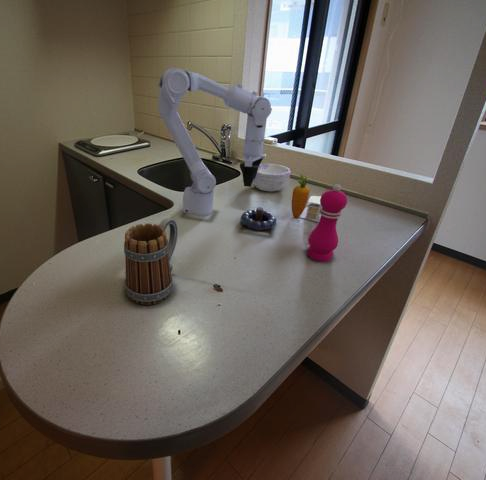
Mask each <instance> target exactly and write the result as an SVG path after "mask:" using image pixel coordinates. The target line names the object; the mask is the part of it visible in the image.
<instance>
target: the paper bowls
mask: <svg viewBox="0 0 486 480" xmlns="http://www.w3.org/2000/svg"><path fill="white" fill-rule="evenodd" d="M290 177H291V168H289V167H287V166H284V165H281V164H274V163H260V165H259V168H258V171H257V174H256V177H255V179H253V182H252V184H254V186H255V188H256V189H258V190H260V191H264V192H278V191H280V190H282V188H283V187H284V186H286V185H288V184H289V183H290Z"/></svg>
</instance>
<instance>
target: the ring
mask: <svg viewBox="0 0 486 480" xmlns="http://www.w3.org/2000/svg"><path fill="white" fill-rule="evenodd" d="M255 217H256V209H250V210H246V211H245V212H243V213H242V214H241V216H240V222H241V224H243V225H244V226H246V227H248V228H250V229H255V230H268V229H270V228H272V229H273V228H275V226H276V224H277V218H276V217H275V215H274V214H273V213H272V212H270V211H269V212H268V211H266V210H263V215H262V219H265V220H267V221H264V222H258V221H253V220H251V219H250V218H255Z"/></svg>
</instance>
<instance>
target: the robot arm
mask: <svg viewBox="0 0 486 480" xmlns="http://www.w3.org/2000/svg"><path fill="white" fill-rule="evenodd" d="M196 91H202V92H204V93H207V94H210V95H212V96H215V97H218V98H220V99H222V100H223V102H224V105H225V106H226V107H228V108H231V109H233V110H236V111H238V112H241V113H243V114H246V115H247V117H246V126H245V134H244V135H245V136H244V145H243V153H242V157H243V159H244V162H240V163H239V168H240V171H241V175H242V180H243V181H242V182H243V187H247V188H251V186H252V185H253V179H255V177H256V174H257V171H258V168H259V165H260V164H262V161H263V160H264V159H266V158H267V154H266V153H263V151H264V143H265V135H266V127H267V121H268V120H267V119H268V117H270V115H271V113H272V111H273V107H272V106H271V102H270V100H269V99H268V98H267V97H263V96H261V95H258V92H256V91H254V90H253V91H249V90H247V89H245V88H244V85H242V84H239V83H237V85H236V84H232V85H230V86H226V85H223V84H221V83H219V82H217V81H215V80H212V79H210V78H208V77H206V76H204V75H202V74H200V73H197V72H193V71H189V70H184V69H181V68H177V67H173V66H171V67H168V68H166V69H165V70H163V72H162V73H161V76H160V79H159V81H158V95H157V112H158V114H159V115H160V117H161V119H162V120H163V122H164V125H165V127H166V128H167V131H168V132H169V135H170V136H171V138H172V139H173V141H174V144H175V145H176V147H177V149H178V151H179V153H180V154H181V156H182V158H183V161H184V162H185V163H186V166H187V168H188V169H189V176H190V180H191V181H192V184H191V186H187V187H185V188H184V190H183V194H182V213H183V214H189V215H194V216H197V217H207V216H210V215H212V214H213V209H214V193H215V192H214V189H215V187H216V185H217V180H216V177H215V175H213V174H212V173H211V171H210V169H209V168H208V166H206V165H205V164H204V163H205V162H203V160H202V157H201V156H200V154H199V152H198V149H197V148H196V145H195V144H194V142H193V140H192V138H191V136H190V134H189V132H188V130H187V129H186V126H185V123H184V122H183V120H182V118H181V116H180V114H179V113H178V109H179V106H180V103H181V100H182V99H183V97H184V96H185V95H186V93H187V92H196Z"/></svg>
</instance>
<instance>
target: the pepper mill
mask: <svg viewBox="0 0 486 480" xmlns="http://www.w3.org/2000/svg"><path fill="white" fill-rule="evenodd" d="M341 189H342V186H341V185H340V184H337V183H336V184H334V185H333V186H332V189H327V190H326V191H324V192H323V193H322V194H321V195H320V197H321V199H320V203H321V205H322V207H321V208H320V212H319V213H320V214H321V218H320V221H319V222H317V225H316V226H315V227H314V228H313V229H312V231H311V232H310V234H309V236H308V239H307V242H308V244H309V245H308V248H307V252H306V253H307V256H308V257H309V258H310V259H312V260H314V261H316V262H323V263H325V262H329V261H331V260H332V258H333V256H334V250H336V249H337V248H338V244H339V237H338V236H339V235H338V232H337V224H338V223H337V222H338V220H339V218H341V217H342V213H343V211H342V210H344V209H345V208H346V206H347V204H348V197H347V195H346V194H345V193H344V192H343V191H341Z"/></svg>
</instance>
